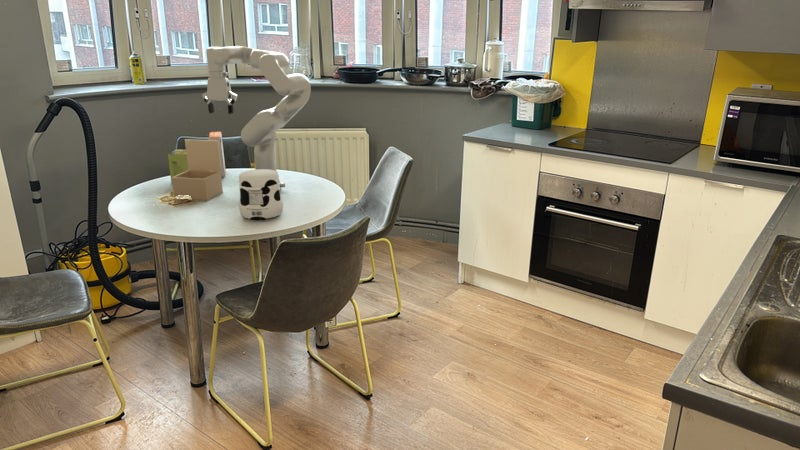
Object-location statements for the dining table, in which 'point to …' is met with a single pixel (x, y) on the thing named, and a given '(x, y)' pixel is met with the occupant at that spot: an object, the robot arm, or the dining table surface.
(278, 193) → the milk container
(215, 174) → the carton
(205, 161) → the lid flap
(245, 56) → the robot arm
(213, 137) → the cracker box
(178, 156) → the protein box
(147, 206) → the dining table surface
